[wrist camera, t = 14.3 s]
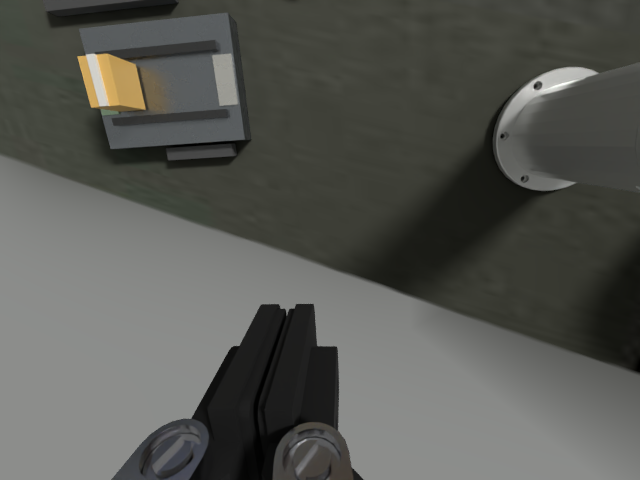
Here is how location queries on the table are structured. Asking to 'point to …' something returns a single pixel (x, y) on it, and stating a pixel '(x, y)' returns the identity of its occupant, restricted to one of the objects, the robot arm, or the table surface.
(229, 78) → the panel
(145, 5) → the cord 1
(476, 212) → the table surface
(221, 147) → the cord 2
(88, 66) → the cardboard box
